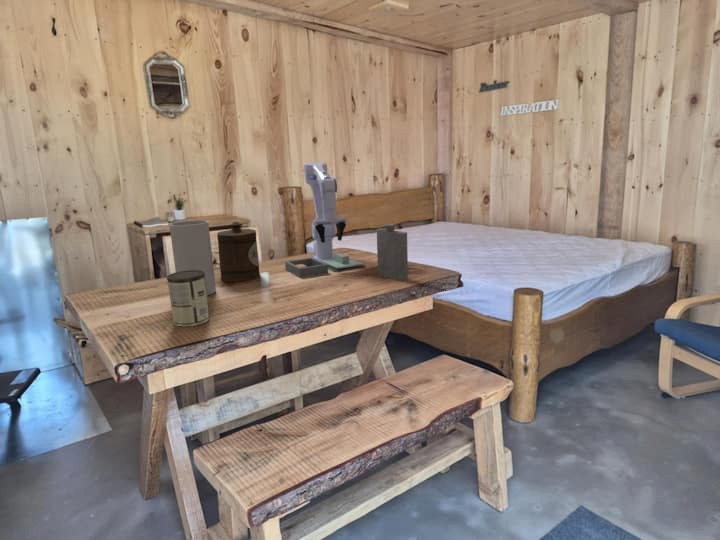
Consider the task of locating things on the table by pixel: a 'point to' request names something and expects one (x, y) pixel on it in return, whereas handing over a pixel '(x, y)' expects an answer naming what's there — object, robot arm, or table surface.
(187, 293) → the coffee can
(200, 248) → the cylinder vase
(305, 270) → the storage box
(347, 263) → the lid
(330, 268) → the mat
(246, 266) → the wooden container
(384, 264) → the hip flask
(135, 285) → the table surface
